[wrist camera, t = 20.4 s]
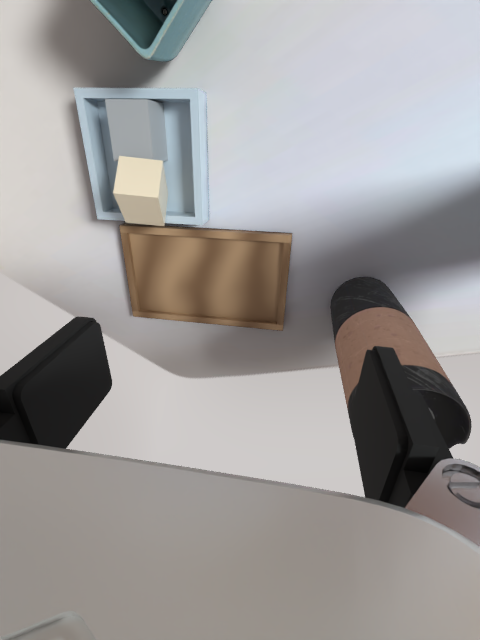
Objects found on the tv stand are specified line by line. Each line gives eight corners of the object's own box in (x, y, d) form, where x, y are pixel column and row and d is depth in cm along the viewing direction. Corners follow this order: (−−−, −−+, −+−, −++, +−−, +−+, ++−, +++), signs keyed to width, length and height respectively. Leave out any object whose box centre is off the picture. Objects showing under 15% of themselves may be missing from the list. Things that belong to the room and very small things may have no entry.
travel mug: (323, 281, 39) (344, 393, 21) (393, 268, 37) (477, 380, 20) (332, 335, 42) (356, 471, 25) (396, 326, 40) (471, 467, 23)
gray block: (147, 99, 29) (153, 162, 31) (163, 104, 32) (168, 160, 35) (104, 99, 29) (114, 161, 32) (125, 103, 33) (132, 159, 35)
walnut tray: (292, 233, 37) (291, 235, 36) (283, 326, 43) (282, 330, 42) (123, 223, 39) (119, 225, 38) (137, 312, 45) (133, 316, 44)
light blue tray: (206, 92, 32) (198, 88, 29) (209, 219, 38) (202, 225, 35) (91, 91, 33) (73, 87, 31) (110, 214, 39) (97, 219, 36)
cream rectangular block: (168, 193, 36) (162, 160, 31) (164, 226, 35) (158, 197, 30) (130, 189, 35) (119, 155, 31) (125, 222, 34) (113, 193, 30)
